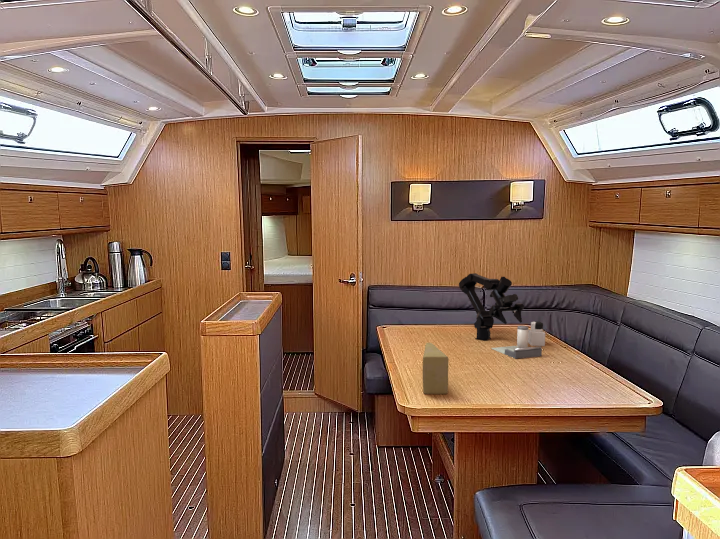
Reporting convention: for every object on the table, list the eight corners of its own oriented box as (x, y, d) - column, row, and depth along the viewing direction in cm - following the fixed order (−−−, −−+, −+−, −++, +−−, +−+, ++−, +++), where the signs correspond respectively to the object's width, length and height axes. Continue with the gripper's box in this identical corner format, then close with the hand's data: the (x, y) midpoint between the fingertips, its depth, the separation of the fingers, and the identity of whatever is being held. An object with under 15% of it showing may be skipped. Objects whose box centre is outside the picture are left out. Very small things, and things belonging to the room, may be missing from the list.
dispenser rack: (504, 354, 240) (504, 345, 239) (530, 351, 244) (530, 342, 244) (515, 359, 232) (515, 349, 231) (541, 356, 236) (541, 346, 236)
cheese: (416, 376, 207) (417, 341, 205) (439, 376, 206) (440, 341, 205) (422, 394, 185) (423, 355, 183) (448, 394, 184) (449, 355, 183)
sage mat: (491, 348, 250) (491, 348, 250) (515, 346, 255) (515, 345, 255) (504, 354, 240) (504, 353, 240) (529, 351, 245) (529, 350, 245)
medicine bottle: (541, 342, 262) (542, 320, 261) (545, 346, 255) (545, 323, 254) (527, 342, 263) (528, 320, 262) (531, 345, 256) (531, 323, 255)
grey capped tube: (515, 355, 238) (515, 326, 237) (518, 352, 242) (519, 325, 241) (525, 356, 235) (526, 328, 234) (528, 354, 239) (529, 326, 238)
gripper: (491, 289, 246) (505, 314, 236) (522, 287, 252) (536, 312, 243) (482, 303, 254) (495, 327, 244) (512, 301, 260) (526, 325, 250)
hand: (513, 322), depth 245 cm, fingers open, 9 cm apart
